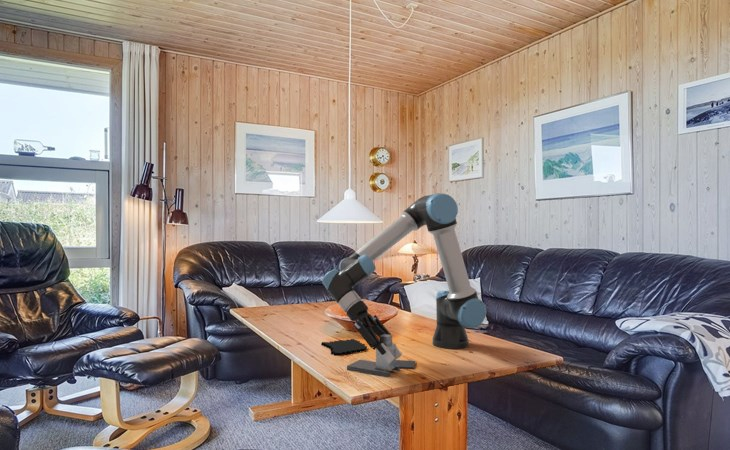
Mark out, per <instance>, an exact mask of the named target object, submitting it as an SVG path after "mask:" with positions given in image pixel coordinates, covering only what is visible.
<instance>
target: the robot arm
mask: <svg viewBox="0 0 730 450" xmlns="http://www.w3.org/2000/svg"><path fill="white" fill-rule="evenodd" d="M458 213H459V207H458V204H457V201H456V200H455V199H454V198H453V197H452V196H451V195H449V194H446V193H440V192H438V193H434V194H429V195H428V194H427V195H423V196H421V197H420V198H417V200H415V201H414V202H413V203H412V204H410V205H409V206H408V207H407V208H406V209H404V210H403V211H402V212H401V216H400V217H399V218H396V220H395V221H393V222H392V223H390V224H389V225H388V226H387V227H386V228H384V229H383V230H381V231H380V232H379V233H378V234H377V235H375V236H374V237H372V238H371V239H370V240H369V241H367V242H366V243H365V244H363V246H361V247H360V248H358V249H357V250H356V251H355V252H353V253H352V254H351V255H349V256H347V257H344V258H343V259H341V260H340V262H339V265H338V269H339V270H338V269H336V268H334V269H332V270H329V271H328V272H326V273H325V274H324V276H323V277H322V279H321V281H322V283H321V284H322V285H323V286H324V287H325V289H326V291H327V292H328V293H329V294H330V296H332V298H333V299H334V300H335V301H336V303H337V304H338V305H339V307H340V308H341V309H342V311H343V312H344V313H346V316H347V318H349V320H350V321H351V322H355V323H354V324H353V328H354V329H355V330H356V331H357V332H358V333H359V334H360V336H361V337H362V338H363V340H364V341H365V342H366V343H367V345H368V346H369V347H370V348H371V349H373V350H375V351H376V348H377V349H378V351H379V352H380V353H381V354H382V356H383V357H384V358H385V359H386V361H387V362H388V363H389V364H390V363H391V362H392V361H393V360H394V359H395V358H394V356H393V355H392V354H391V353H390V351H389V350H388V349H387V348H386V346H385V345H384V344H383V343H382V344H381V343H380V341H379V338H378V337H379V336H381V335H383V334H387V335H392V334H391V332H390V331H389V330H388V329H387V327H385V325H384V324H383V323H382V321H381V320H380V319H379V318H378V315H376V314H374V315H373V316H372V315H371V314H370V313H369V312H368V310H369V306H367V304H366V303H365V302H364V300H362V298H361V296H359V295H358V293H357V292H356V291H355V289H354V287H356V286H357V285H359V284H360V283H361V282H362V281H364V280H366V279H367V278H368V277H369V276H371V274H373V273H374V272H375V271H376V265H375V263H374V262H375V261H376V260H377V259H378V258H379V257H381V256H382V255H383V254H385V253H386V252H387V251H388V250H390V249H391V248H393V246H395V245H396V244H398V243H399V242H400V241H401V240H402V239H404V238H405V237H406V236H408V235H409V234H410V233H412V231H418V230H419V229H420V228H422V227H424V226H426V228H427V232H428V233H430V234H432V236H433V240H434V243H435V245H436V248H437V249H436V250H437V253H438V256H439V260H440V262H441V263H440V264H441V267H442V270H443V273H444V277H445V281H446V283H447V287H448V290H439V291H437V293H436V299H435V302H436V306H435V307H436V327H435V329H434V333H433V336H432V345H433V346H434V347H437V348H441V349H442V348H443V349H450V350H451V349H452V350H454V349H455V350H456V349H458V350H459V349H465V348H468V347H469V346H470V345H469V337H468V334H467V332H466V331H467V330H466V328H470V329H474V328H477V327H479V326H480V325H482V324H483V322H484V320H485V319H486V318H487V317H486V316H487V306H486V304H485V303H484V302H483V300H481V299H480V298H479V296H478V293H477V290H476V289H477V288H475V287H472V285H471V282H470V279H469V275H468V272H467V268H466V265H465V262H464V258H463V253H462V251H461V248H460V244H459V241H458V240H459V239H458V237H457V233H456V226H457V225H458V222H457V219H456V218H457V215H458ZM392 343H394V341H392ZM401 356H403V352H401V350H400V349H399V348H398V347H397V346H396V360H399V358H400V357H401Z"/></svg>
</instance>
